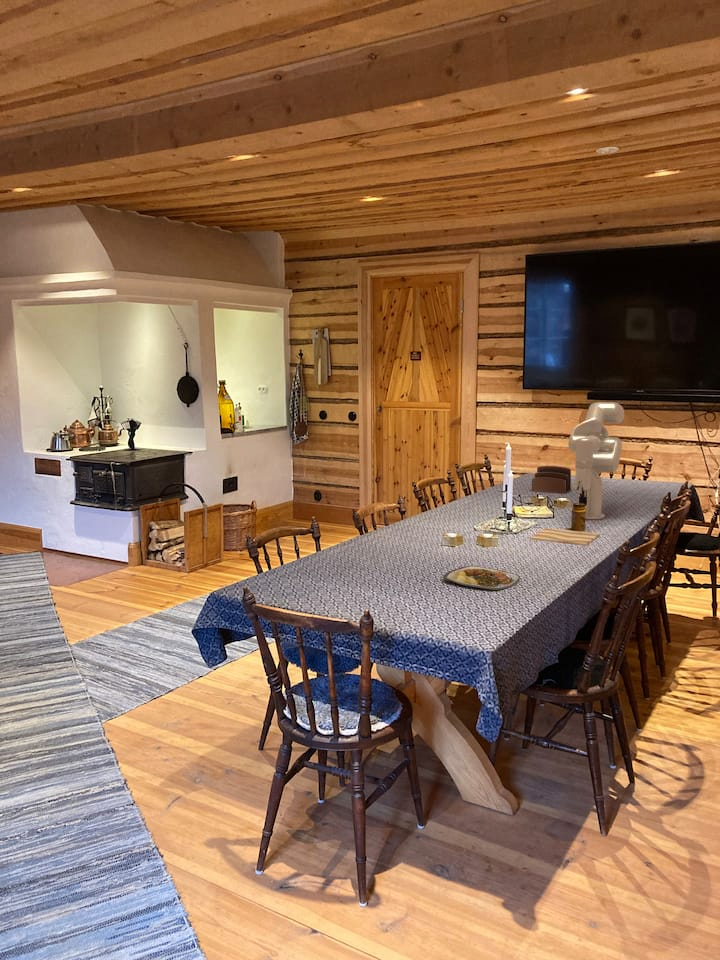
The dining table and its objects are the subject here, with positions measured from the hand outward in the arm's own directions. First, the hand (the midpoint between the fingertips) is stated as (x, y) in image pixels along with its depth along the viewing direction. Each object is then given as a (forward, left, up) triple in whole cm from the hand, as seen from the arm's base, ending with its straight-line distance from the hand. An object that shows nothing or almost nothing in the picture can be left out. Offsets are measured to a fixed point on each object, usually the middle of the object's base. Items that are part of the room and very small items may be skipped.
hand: (582, 505), depth 351 cm
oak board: (+25, 0, -10) cm, 27 cm away
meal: (+99, -6, -10) cm, 100 cm away
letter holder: (-81, -42, -10) cm, 91 cm away
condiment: (+9, 0, -10) cm, 13 cm away
